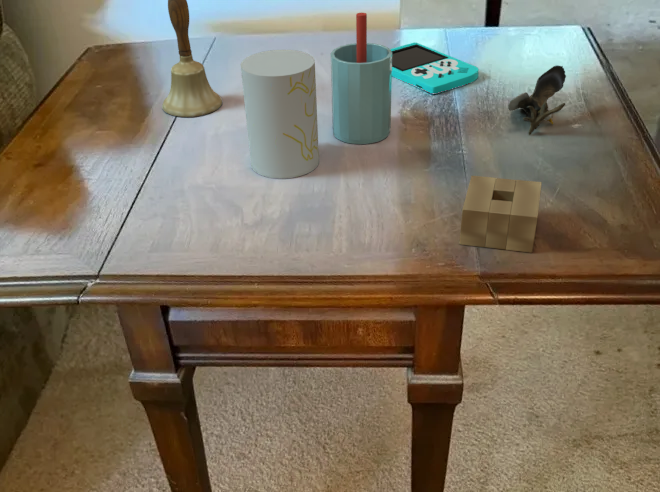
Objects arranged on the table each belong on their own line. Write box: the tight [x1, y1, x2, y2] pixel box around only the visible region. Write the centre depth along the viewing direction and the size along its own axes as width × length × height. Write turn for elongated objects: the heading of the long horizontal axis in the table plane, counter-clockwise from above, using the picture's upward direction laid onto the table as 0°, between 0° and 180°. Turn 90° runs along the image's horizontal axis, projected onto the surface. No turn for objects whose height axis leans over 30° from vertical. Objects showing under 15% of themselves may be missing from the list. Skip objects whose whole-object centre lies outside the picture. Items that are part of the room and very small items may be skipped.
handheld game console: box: [389, 41, 480, 93], centre depth 112 cm, size 10×16×1 cm, turn 33°
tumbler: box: [330, 42, 393, 145], centre depth 94 cm, size 7×7×10 cm
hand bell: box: [161, 0, 223, 118], centre depth 101 cm, size 8×8×16 cm
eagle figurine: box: [507, 65, 567, 136], centre depth 95 cm, size 8×7×9 cm
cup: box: [240, 49, 320, 180], centre depth 87 cm, size 8×8×12 cm
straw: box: [355, 12, 368, 63], centre depth 92 cm, size 1×1×14 cm
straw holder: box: [458, 175, 543, 254], centre depth 76 cm, size 7×7×4 cm
